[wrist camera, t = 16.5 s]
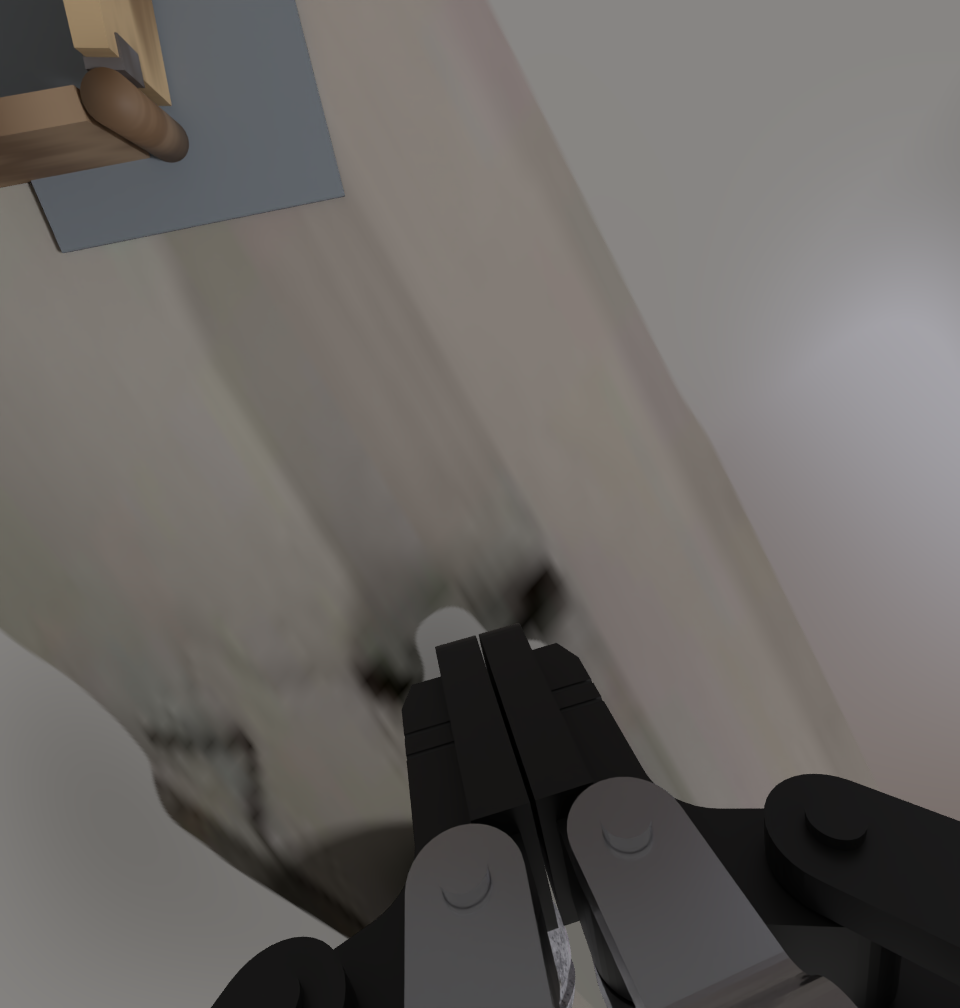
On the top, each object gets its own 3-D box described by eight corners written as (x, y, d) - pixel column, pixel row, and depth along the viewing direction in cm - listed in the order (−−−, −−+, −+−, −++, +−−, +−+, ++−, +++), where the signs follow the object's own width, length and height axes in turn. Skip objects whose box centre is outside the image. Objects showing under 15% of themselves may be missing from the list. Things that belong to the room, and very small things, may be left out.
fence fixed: (-19, 200, 30) (-142, 175, 23) (-40, 156, 29) (-174, 114, 22) (196, 159, 31) (145, 122, 24) (181, 115, 30) (124, 62, 23)
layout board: (64, 253, 31) (61, 252, 31) (-123, -180, 25) (-130, -187, 25) (345, 196, 33) (344, 195, 32) (236, -226, 26) (235, -232, 26)
